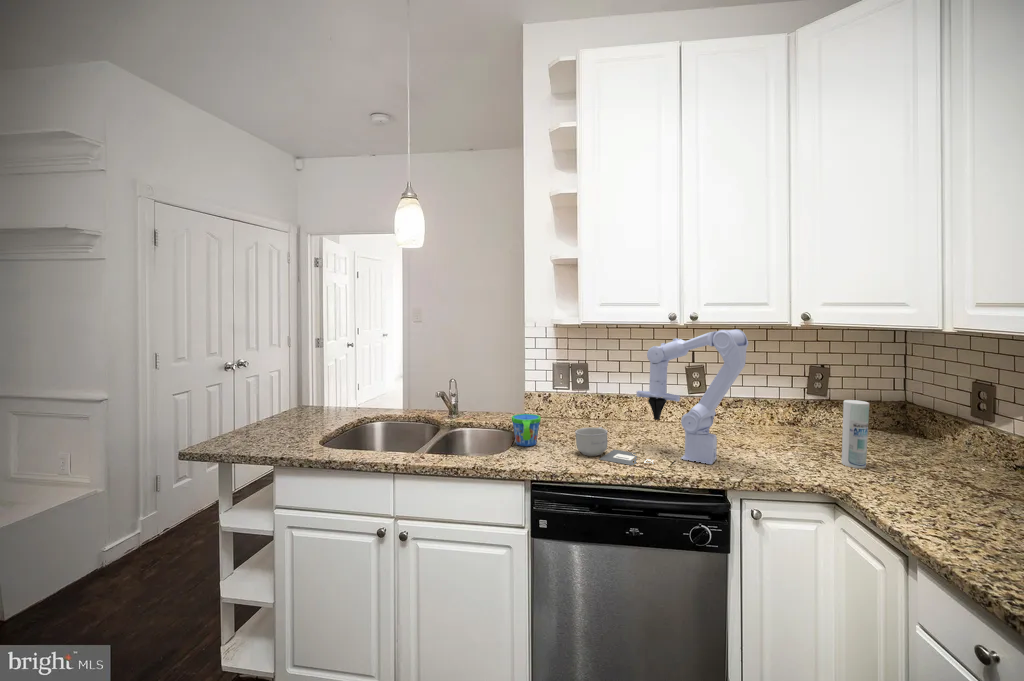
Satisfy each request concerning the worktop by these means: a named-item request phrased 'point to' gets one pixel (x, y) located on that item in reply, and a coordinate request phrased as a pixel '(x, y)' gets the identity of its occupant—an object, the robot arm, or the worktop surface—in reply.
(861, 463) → the spray can
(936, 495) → the worktop surface
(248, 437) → the worktop surface
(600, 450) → the teacup
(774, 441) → the worktop surface
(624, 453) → the label mat
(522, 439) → the snack cup
